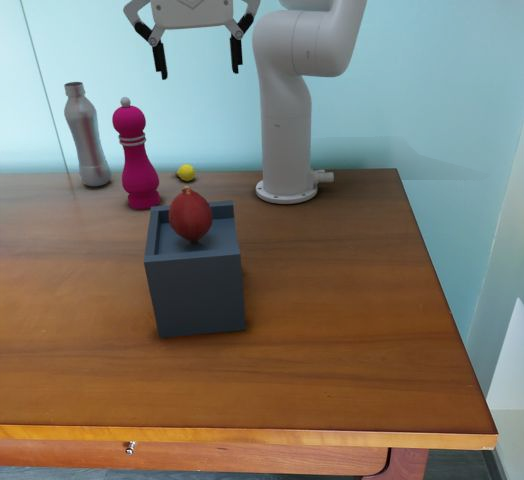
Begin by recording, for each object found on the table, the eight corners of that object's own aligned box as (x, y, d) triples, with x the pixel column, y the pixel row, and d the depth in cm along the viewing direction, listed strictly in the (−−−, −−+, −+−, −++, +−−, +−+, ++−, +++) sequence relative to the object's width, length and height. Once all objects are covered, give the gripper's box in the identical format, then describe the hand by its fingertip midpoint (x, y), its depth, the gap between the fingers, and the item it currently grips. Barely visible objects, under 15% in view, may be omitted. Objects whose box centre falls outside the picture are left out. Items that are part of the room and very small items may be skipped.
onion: (174, 233, 75) (165, 178, 70) (214, 230, 75) (208, 175, 70) (172, 253, 70) (162, 196, 65) (215, 250, 70) (209, 193, 65)
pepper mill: (166, 195, 109) (149, 91, 96) (157, 211, 103) (138, 102, 91) (132, 195, 110) (111, 91, 97) (122, 210, 104) (98, 103, 91)
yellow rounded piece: (190, 184, 113) (181, 169, 111) (175, 184, 117) (166, 170, 115) (200, 175, 114) (192, 160, 112) (185, 175, 118) (177, 161, 116)
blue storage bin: (238, 270, 85) (232, 200, 78) (245, 330, 73) (240, 253, 65) (163, 276, 85) (151, 206, 77) (159, 338, 72) (143, 262, 65)
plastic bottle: (86, 192, 112) (60, 90, 99) (79, 181, 116) (53, 83, 104) (116, 185, 114) (94, 85, 101) (108, 175, 119) (86, 78, 106)
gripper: (102, -83, 57) (134, 87, 69) (259, -93, 58) (266, 76, 70) (109, -85, 63) (138, 72, 74) (252, -94, 64) (259, 62, 75)
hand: (200, 74), depth 72 cm, fingers open, 9 cm apart
